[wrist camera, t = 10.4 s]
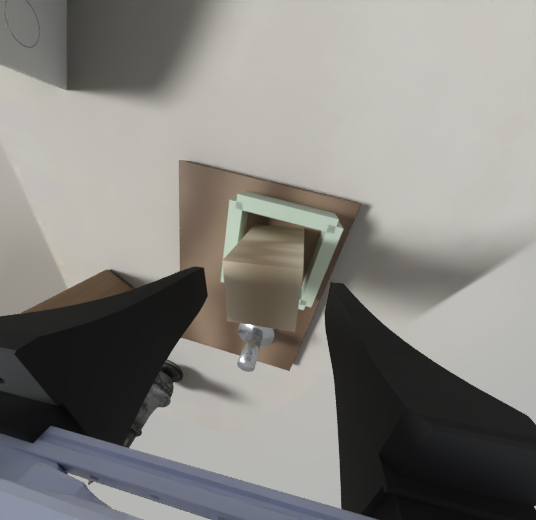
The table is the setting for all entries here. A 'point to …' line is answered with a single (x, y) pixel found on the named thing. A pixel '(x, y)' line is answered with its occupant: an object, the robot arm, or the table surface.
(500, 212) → the table surface
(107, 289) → the wooden block
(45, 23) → the white rounded block
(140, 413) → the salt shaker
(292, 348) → the walnut board
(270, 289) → the maple peg
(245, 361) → the metal post
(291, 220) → the socket collar
